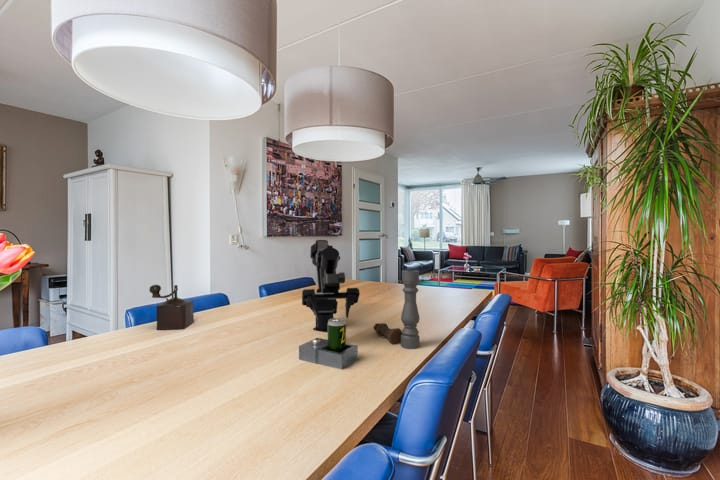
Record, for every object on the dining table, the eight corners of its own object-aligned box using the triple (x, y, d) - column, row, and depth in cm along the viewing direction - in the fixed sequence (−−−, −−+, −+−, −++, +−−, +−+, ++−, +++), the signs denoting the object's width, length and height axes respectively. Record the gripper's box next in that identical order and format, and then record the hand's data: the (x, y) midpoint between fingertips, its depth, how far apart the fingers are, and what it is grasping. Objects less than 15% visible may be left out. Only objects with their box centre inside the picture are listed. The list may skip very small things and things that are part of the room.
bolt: (379, 336, 129) (398, 347, 116) (368, 331, 128) (387, 342, 114) (385, 322, 131) (406, 332, 117) (375, 317, 129) (394, 326, 115)
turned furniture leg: (420, 344, 116) (421, 270, 115) (417, 350, 110) (418, 272, 109) (402, 342, 118) (403, 269, 117) (398, 347, 112) (399, 271, 111)
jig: (298, 359, 102) (298, 342, 101) (317, 350, 109) (316, 334, 109) (341, 369, 94) (341, 351, 94) (357, 358, 102) (357, 342, 102)
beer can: (325, 363, 98) (325, 322, 98) (330, 356, 104) (330, 317, 103) (343, 364, 97) (343, 323, 97) (347, 357, 103) (347, 318, 102)
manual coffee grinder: (166, 323, 141) (165, 279, 141) (194, 322, 143) (194, 279, 142) (147, 334, 126) (146, 285, 126) (178, 333, 127) (178, 285, 127)
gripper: (302, 264, 111) (303, 305, 100) (358, 263, 115) (365, 303, 104) (301, 285, 119) (302, 325, 108) (354, 283, 123) (360, 322, 112)
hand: (333, 318), depth 108 cm, fingers open, 9 cm apart
